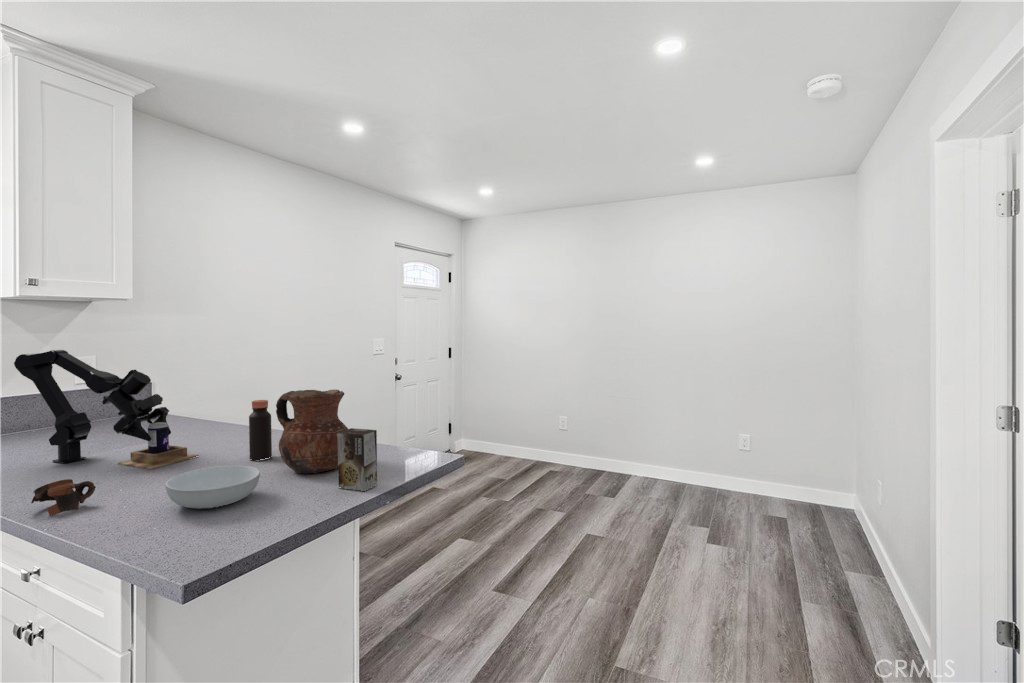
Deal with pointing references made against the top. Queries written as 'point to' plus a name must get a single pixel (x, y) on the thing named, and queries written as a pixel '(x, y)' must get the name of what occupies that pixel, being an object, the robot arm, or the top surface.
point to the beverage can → (158, 438)
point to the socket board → (158, 457)
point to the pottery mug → (63, 495)
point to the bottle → (260, 431)
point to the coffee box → (357, 459)
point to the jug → (310, 430)
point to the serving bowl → (212, 486)
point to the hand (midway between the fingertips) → (160, 436)
